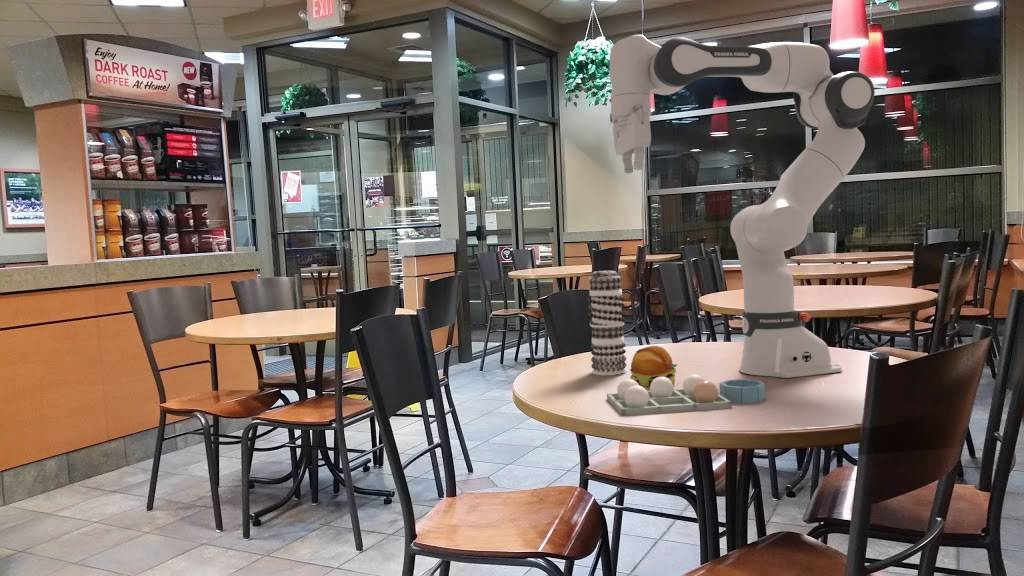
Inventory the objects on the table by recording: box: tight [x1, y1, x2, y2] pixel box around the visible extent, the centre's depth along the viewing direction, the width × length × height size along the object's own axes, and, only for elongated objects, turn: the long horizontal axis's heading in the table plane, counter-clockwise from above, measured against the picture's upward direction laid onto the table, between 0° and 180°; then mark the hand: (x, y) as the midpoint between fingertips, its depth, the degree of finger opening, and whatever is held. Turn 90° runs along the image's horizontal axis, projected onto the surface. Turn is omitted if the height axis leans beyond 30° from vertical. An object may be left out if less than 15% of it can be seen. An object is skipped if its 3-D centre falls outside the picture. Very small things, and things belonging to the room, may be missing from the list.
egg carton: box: [606, 373, 733, 416], centre depth 148 cm, size 21×14×5 cm
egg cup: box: [719, 378, 766, 404], centre depth 150 cm, size 8×8×4 cm
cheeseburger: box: [629, 345, 678, 388], centre depth 168 cm, size 10×11×10 cm
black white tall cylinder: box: [586, 270, 628, 376], centre depth 187 cm, size 9×9×25 cm
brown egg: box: [693, 380, 719, 403], centre depth 145 cm, size 5×5×5 cm
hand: (633, 171), depth 173 cm, fingers open, 8 cm apart
